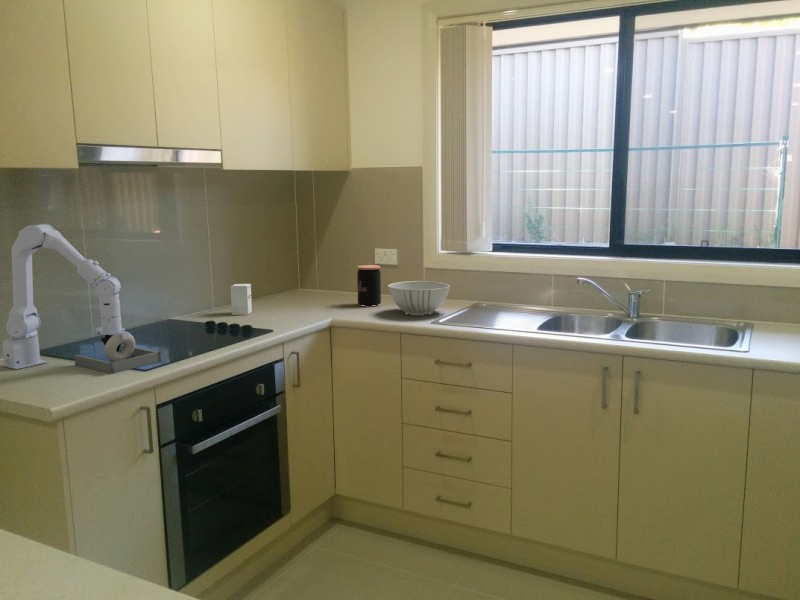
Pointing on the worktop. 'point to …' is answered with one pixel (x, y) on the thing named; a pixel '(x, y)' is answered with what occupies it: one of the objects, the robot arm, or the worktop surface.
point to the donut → (124, 352)
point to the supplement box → (241, 299)
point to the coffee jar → (369, 285)
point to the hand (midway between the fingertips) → (114, 358)
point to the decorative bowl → (418, 296)
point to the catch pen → (139, 359)
